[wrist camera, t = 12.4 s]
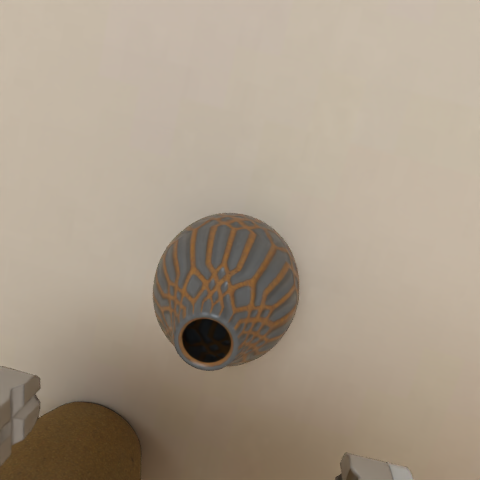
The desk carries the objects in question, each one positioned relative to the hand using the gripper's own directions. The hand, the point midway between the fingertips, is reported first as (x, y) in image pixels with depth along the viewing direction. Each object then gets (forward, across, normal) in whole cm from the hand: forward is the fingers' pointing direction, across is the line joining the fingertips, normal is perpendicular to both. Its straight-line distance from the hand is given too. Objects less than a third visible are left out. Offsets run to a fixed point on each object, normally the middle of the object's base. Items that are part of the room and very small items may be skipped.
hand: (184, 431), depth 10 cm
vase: (+13, 0, 0) cm, 13 cm away
